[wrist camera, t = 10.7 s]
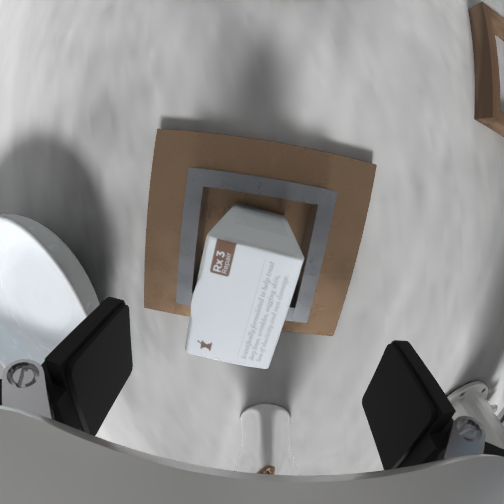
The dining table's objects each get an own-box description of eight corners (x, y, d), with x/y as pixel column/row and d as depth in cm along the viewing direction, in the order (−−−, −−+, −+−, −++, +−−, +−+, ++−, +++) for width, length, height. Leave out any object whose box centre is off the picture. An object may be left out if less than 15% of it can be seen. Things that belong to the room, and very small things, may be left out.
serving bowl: (26, 356, 30) (1, 382, 24) (-16, 214, 24) (-53, 227, 18) (145, 376, 30) (126, 417, 23) (104, 188, 24) (60, 199, 17)
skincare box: (267, 281, 25) (273, 378, 13) (215, 269, 24) (182, 357, 13) (287, 211, 23) (316, 260, 11) (231, 197, 23) (204, 233, 11)
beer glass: (230, 404, 30) (218, 516, 16) (290, 396, 30) (302, 512, 16) (243, 437, 32) (237, 535, 18) (296, 430, 32) (306, 530, 18)
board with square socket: (372, 164, 23) (391, 165, 19) (330, 330, 27) (340, 354, 23) (161, 129, 22) (143, 124, 18) (147, 302, 27) (132, 323, 23)
